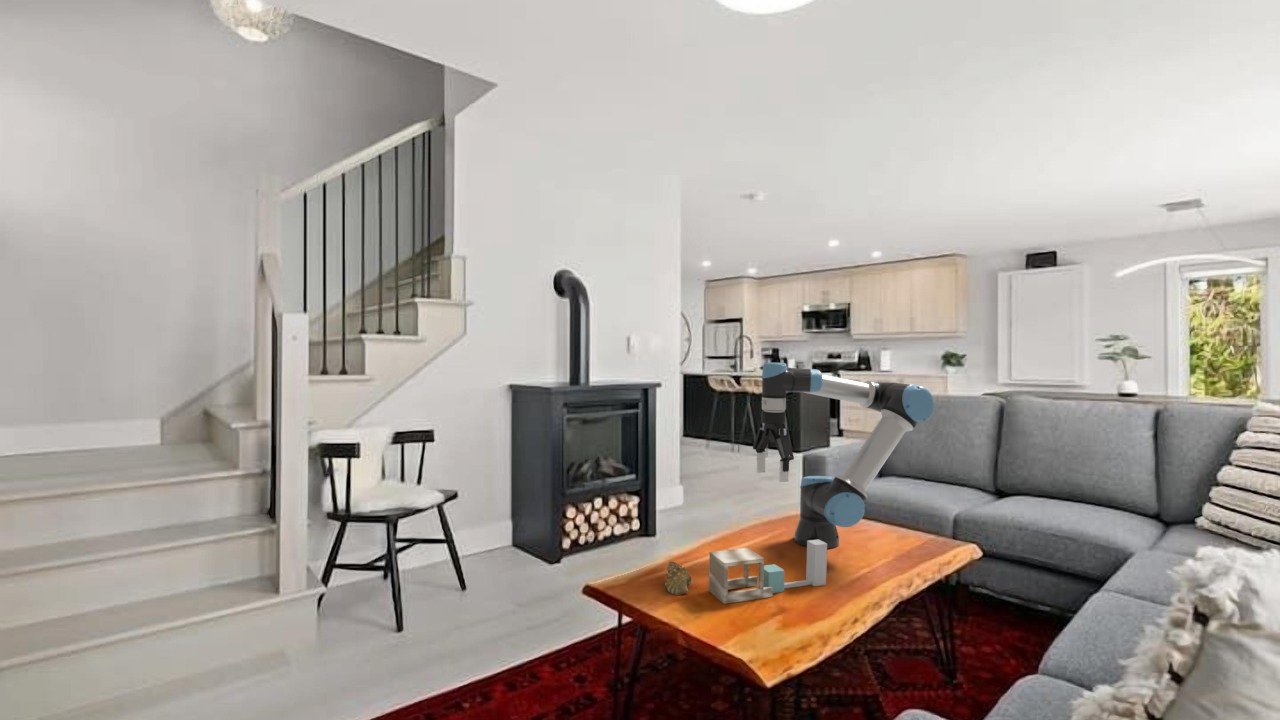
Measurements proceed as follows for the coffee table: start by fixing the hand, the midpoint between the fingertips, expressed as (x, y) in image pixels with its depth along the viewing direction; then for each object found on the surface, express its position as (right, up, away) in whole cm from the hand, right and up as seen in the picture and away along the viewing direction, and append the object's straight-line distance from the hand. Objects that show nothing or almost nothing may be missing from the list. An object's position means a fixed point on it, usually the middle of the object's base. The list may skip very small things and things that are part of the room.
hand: (771, 476), depth 197 cm
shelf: (-14, -27, -26) cm, 41 cm away
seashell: (-32, -27, -22) cm, 48 cm away
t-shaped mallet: (+2, -27, -21) cm, 34 cm away
